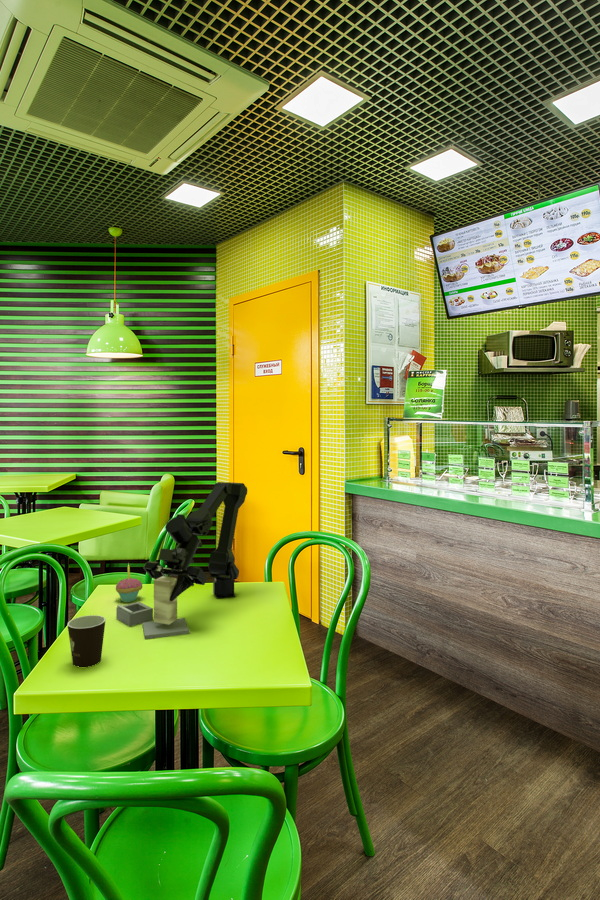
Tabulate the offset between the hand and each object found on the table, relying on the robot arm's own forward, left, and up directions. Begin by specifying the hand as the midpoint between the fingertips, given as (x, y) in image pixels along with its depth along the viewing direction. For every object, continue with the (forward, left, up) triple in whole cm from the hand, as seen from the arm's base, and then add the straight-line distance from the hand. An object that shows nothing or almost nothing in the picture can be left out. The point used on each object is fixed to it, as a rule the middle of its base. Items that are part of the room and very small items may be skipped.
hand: (162, 599), depth 146 cm
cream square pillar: (-1, -1, -7) cm, 7 cm away
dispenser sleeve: (+7, -12, -9) cm, 17 cm away
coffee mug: (+19, +12, -9) cm, 24 cm away
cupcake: (+8, -31, -9) cm, 33 cm away
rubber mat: (-1, -1, -9) cm, 9 cm away
